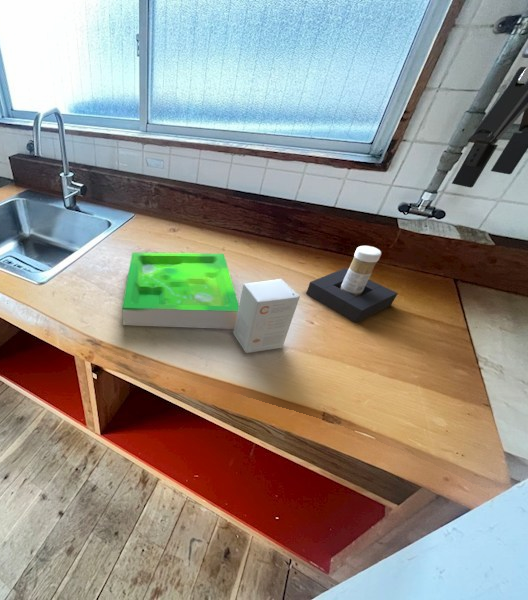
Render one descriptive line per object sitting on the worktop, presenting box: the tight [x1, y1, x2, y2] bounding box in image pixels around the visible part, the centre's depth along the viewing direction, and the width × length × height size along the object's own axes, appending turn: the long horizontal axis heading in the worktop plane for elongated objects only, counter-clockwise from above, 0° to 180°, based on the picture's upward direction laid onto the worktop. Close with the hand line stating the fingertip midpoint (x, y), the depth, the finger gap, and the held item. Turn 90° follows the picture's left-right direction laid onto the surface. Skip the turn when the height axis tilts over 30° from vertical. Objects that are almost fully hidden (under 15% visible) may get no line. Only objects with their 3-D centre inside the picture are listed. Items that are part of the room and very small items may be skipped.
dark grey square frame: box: [305, 267, 399, 324], centre depth 76 cm, size 13×13×4 cm
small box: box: [233, 278, 300, 354], centre depth 63 cm, size 8×6×13 cm
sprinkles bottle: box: [340, 245, 382, 297], centre depth 73 cm, size 5×5×13 cm
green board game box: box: [121, 252, 239, 330], centre depth 80 cm, size 25×25×5 cm
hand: (482, 178), depth 57 cm, fingers open, 13 cm apart
